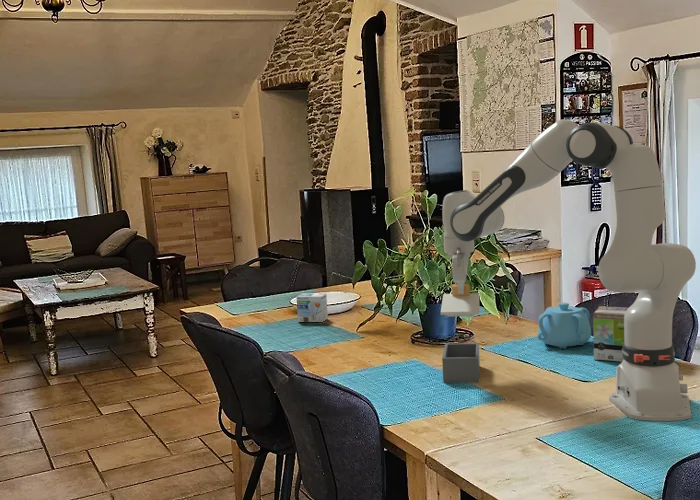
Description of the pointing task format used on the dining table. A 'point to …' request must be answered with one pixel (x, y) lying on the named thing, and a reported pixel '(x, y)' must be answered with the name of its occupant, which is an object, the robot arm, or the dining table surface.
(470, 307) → the lid
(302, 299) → the light bulb box
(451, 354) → the tub
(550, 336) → the decorative pot
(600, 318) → the tea box
